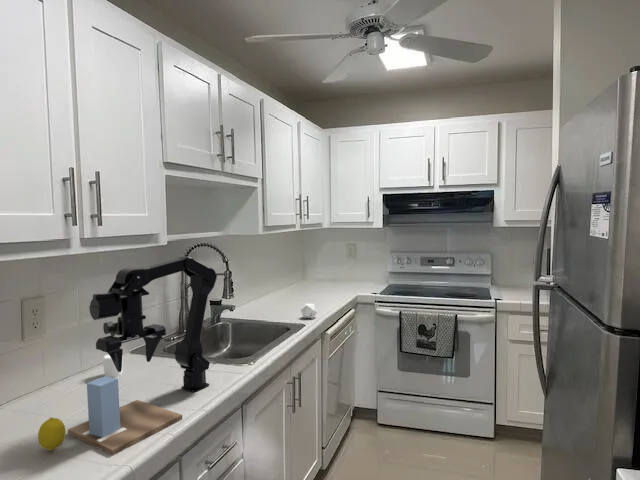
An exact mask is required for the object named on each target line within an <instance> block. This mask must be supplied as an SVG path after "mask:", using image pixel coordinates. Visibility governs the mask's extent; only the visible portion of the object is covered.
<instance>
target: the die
mask: <svg viewBox="0 0 640 480" xmlns="http://www.w3.org/2000/svg"><path fill="white" fill-rule="evenodd" d="M300 312H301V314H302V317H303V319H306V318H311V319H310V320H314V318H315V316H316V315H317V313H318V310H317V308H316V305H315V303H305V304H304V305H303V306H302V307H301V309H300Z"/></svg>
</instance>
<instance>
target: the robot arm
mask: <svg viewBox="0 0 640 480" xmlns="http://www.w3.org/2000/svg"><path fill="white" fill-rule="evenodd" d="M181 272H183V273H184V274H185V275H186V276H187V277H188V278H190V283H189V285H190V289H191V292H192V296H191V300H190V301H191V302H190V306H189V312H188V317H187V322H186V329H185V332H184V337H183V339H182V341H180V342H179V341H177V342H176V344H175V351H174V353H173V356H175V357H174V358H175V359H174V360H175V361H176V363H177V364H179V366H180V368H181V369H184V370H183V380H182V381H183V385H182V386H181V387H180V388H181V390H185V391H189V392H192V393H195V392H198V391H200V390H203V389H204V388H207V387H209V386H210V383H208V382H207V377H206V376H207V375H206V374H207V373H206V371H207V370H209V367H210V361H208V360H207V359H206V358H205V357H204V356H203V354H204V353H203V351H204V349H203V345H202V341H201V338H202V336H201V335H202V329H203V326H204V325H203V324H204V321H205V320H204V318H205V315H206V314H205V313H206V309H207V303H208V298H209V294H210V293H211V292H212V290H213V289H215V288H214V287H215V285H216V282H217V277H218V275H217V274H218V273H216V271H215V269H213V268H212V267H208V266H206V265H205V264H202V263H200V262H199V261H197V260H195V259H194V258H193V257H191V256H179V257H178V258H175V259H172V260H168V261H167V260H166V261H163V262H161V263H157V264H153V265H150V266H149V265H148V266H144V267H143V266H142V267H131V268H130V267H128V268H121V269H120V270H118V271H117V274H116V277H115V280H114V282H113V283H112V284H111V286H110V288H109V289H108V291H107V292H105V293H94V294H92V299H91V301H90V305H89V306H88V307H89V313H90V317H91V318H92V320H94V321H98V320H103V319H108V318H113V317H117V316H118V317H117V322H115V323H114V322H113V321H106V322H103V327H102V329H103V334H105V335H108V336H104V337H100V338H97V339H96V342H95V349H96V350H98V351H101V352H104V353H107V354H109V355H110V357H111V359H112V361H113V363H114V365H115V367H116V369H117V371H118V372H121V369H122V370H123V367H122V355H123V356H124V352H123V351H124V350H123V348H121V347H122V344H124V343H128V342H133V341H135V340H139V339H143V341H144V343H145V357H146V358H145V359H146V362H148V363H150V362H151V360H152V358H153V356H154V355H155V351H156V349H157V347H158V345H159V343H160V341H161V340H162V339H163V338H164V336H166V335H167V328H166V327H165V325H163V324H162V325H161V324H157V323H153V324H150V325H147V326H144V320H146V318H147V317H146V316H147V315H145V314H144V313H143V312H144V311H143V296H148V295H150V292H149V291H147V290H146V289H145V288H144V287H145V286H148V285H149V284H150V283H151V282H152V281H155V280H157V279H160V278H164V277H166V276H170V275H173V274H177V273H181ZM119 314H120V316H119ZM109 334H110V335H109ZM116 335H117V336H116Z"/></svg>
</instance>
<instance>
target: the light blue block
mask: <svg viewBox="0 0 640 480" xmlns="http://www.w3.org/2000/svg"><path fill="white" fill-rule="evenodd" d="M86 394H87V410H88V411H87V412H88V421H89V434H91V435H95V436H98V437H102V438H104V437H106V436H107V435H109V434H111V433H113V432H115V431H117V430H118V429H120V409H119V407H120V394H119V378H116V377H106V376H105V375H104V376H102V377H99V378H97V379H94V380H91V381H88V382H86Z"/></svg>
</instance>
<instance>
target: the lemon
mask: <svg viewBox="0 0 640 480" xmlns="http://www.w3.org/2000/svg"><path fill="white" fill-rule="evenodd" d="M65 438H66V427H65V423H64V422H63V420H61V419H60V418H56V417H55V418H54V417H49V418H48V419H47V420H45V421H44V422H43V423H42V424H41V425H40V427H39V430H38V433H37V440H38V443H39V445H40V447H41V448H42V449H44V450H50V451H51V452H53V451H55V450H56V449H57V448H58V447H59V446H61V445H62V443H63V442H64V440H65Z"/></svg>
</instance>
